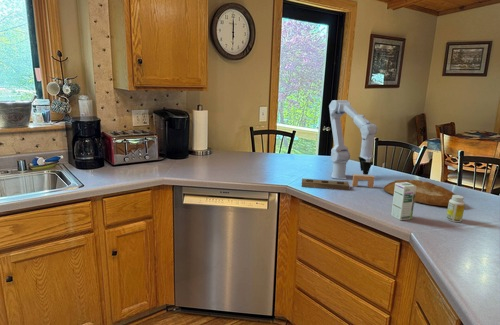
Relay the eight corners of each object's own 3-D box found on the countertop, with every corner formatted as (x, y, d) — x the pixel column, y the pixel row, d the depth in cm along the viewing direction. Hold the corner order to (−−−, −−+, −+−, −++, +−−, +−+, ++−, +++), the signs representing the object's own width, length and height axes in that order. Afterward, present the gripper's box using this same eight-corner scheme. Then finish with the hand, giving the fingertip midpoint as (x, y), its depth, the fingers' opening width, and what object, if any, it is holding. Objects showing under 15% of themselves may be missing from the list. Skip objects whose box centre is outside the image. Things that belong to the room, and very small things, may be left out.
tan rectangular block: (352, 185, 180) (353, 174, 178) (372, 186, 178) (373, 175, 177) (352, 186, 177) (353, 175, 176) (373, 187, 176) (374, 176, 174)
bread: (389, 187, 179) (391, 171, 177) (466, 203, 157) (469, 185, 155) (377, 194, 166) (379, 177, 164) (459, 214, 144) (462, 194, 142)
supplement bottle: (463, 220, 137) (467, 196, 135) (459, 224, 133) (464, 199, 131) (447, 216, 141) (452, 193, 138) (444, 219, 137) (448, 196, 134)
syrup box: (400, 220, 135) (405, 186, 131) (390, 215, 140) (395, 182, 137) (412, 219, 136) (417, 185, 133) (402, 214, 142) (406, 181, 138)
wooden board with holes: (301, 182, 181) (302, 178, 180) (347, 186, 178) (347, 181, 177) (301, 186, 174) (301, 182, 174) (349, 190, 171) (349, 185, 170)
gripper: (377, 150, 165) (374, 176, 168) (372, 145, 179) (369, 169, 182) (363, 149, 166) (360, 175, 169) (358, 144, 180) (356, 168, 183)
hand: (364, 172), depth 176 cm, fingers open, 7 cm apart
